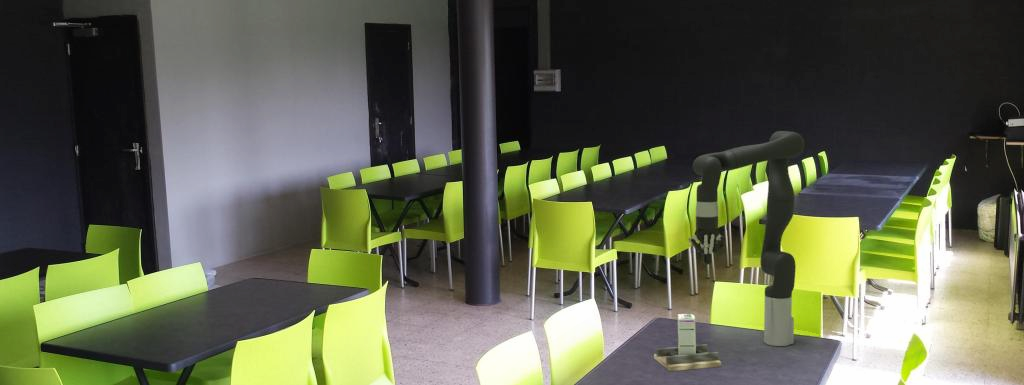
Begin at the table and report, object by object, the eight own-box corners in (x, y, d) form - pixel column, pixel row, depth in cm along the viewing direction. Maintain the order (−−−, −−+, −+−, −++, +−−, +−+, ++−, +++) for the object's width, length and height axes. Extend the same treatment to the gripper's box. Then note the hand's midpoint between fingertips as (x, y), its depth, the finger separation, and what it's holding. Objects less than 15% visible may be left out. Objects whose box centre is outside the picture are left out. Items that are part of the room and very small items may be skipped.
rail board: (703, 353, 308) (703, 342, 308) (721, 366, 294) (721, 354, 294) (654, 358, 304) (654, 346, 304) (669, 371, 291) (669, 359, 290)
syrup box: (696, 360, 296) (696, 318, 294) (678, 360, 297) (678, 318, 295) (695, 355, 302) (695, 313, 300) (677, 355, 302) (677, 313, 301)
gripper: (720, 211, 309) (720, 260, 311) (684, 213, 306) (684, 263, 309) (729, 214, 302) (729, 265, 304) (693, 217, 299) (693, 267, 301)
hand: (706, 264), depth 306 cm, fingers closed
